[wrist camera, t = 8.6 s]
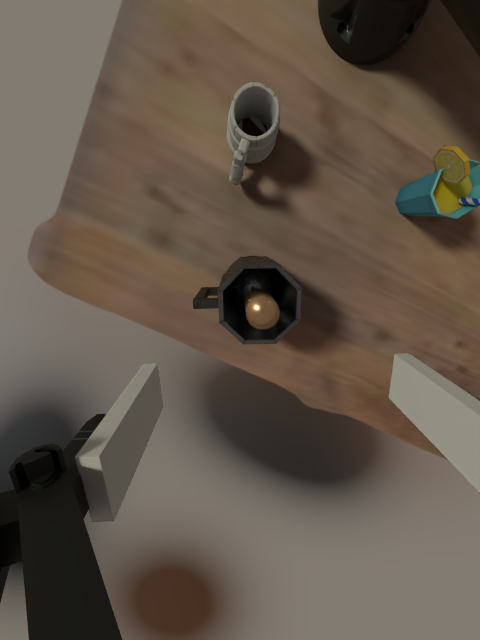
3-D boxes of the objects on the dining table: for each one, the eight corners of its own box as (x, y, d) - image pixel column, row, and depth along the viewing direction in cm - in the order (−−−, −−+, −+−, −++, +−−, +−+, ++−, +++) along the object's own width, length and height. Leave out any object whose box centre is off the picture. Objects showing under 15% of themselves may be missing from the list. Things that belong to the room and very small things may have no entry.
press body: (283, 255, 49) (304, 261, 34) (282, 314, 52) (299, 343, 38) (202, 256, 49) (188, 264, 34) (205, 316, 52) (194, 346, 38)
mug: (282, 123, 43) (299, 81, 32) (254, 198, 46) (260, 185, 35) (237, 102, 42) (238, 51, 31) (212, 180, 45) (204, 160, 34)
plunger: (271, 269, 48) (290, 286, 31) (270, 304, 50) (288, 338, 33) (235, 270, 48) (235, 287, 31) (236, 305, 50) (236, 339, 33)
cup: (458, 208, 47) (556, 194, 33) (426, 246, 49) (505, 248, 34) (401, 155, 45) (480, 116, 30) (369, 197, 46) (429, 178, 32)
